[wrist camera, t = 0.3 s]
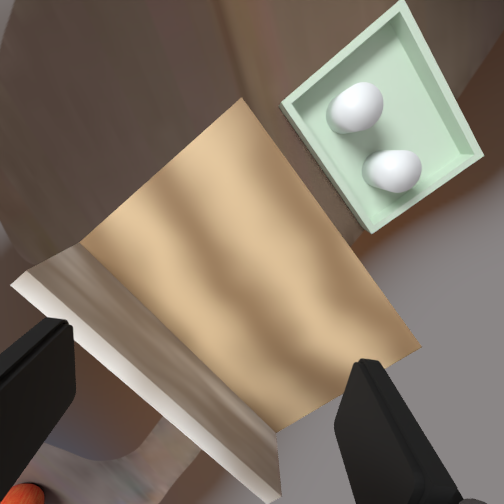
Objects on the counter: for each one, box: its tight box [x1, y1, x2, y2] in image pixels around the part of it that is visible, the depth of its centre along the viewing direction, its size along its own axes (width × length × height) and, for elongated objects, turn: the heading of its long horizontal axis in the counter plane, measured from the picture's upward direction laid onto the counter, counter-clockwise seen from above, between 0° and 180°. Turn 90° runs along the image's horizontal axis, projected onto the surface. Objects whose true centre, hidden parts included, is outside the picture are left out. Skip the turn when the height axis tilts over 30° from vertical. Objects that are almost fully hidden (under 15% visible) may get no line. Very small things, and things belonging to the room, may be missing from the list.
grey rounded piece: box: [326, 82, 384, 134], centre depth 32 cm, size 4×4×6 cm
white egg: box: [362, 150, 422, 193], centre depth 34 cm, size 4×4×6 cm
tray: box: [279, 0, 484, 234], centre depth 34 cm, size 15×19×3 cm
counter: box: [11, 98, 421, 504], centre depth 27 cm, size 14×20×26 cm
